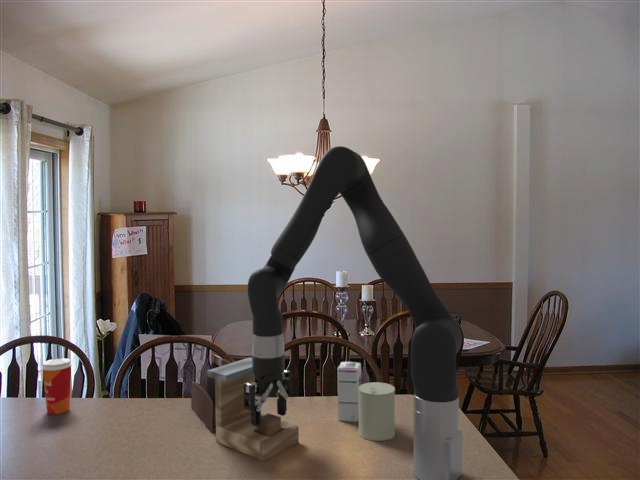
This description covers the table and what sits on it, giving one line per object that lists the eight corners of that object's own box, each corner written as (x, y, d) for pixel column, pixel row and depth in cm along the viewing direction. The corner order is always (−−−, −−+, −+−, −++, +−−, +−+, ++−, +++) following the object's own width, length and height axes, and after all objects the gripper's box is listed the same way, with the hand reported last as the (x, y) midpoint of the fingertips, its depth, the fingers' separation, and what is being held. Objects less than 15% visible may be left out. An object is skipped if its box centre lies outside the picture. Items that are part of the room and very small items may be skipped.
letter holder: (224, 401, 157) (224, 354, 156) (249, 426, 139) (248, 373, 138) (190, 408, 152) (189, 359, 151) (211, 434, 135) (210, 379, 134)
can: (352, 436, 133) (352, 388, 132) (366, 423, 141) (366, 378, 140) (387, 444, 128) (387, 394, 127) (400, 429, 136) (400, 383, 136)
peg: (280, 446, 127) (280, 417, 127) (269, 452, 124) (269, 422, 124) (268, 441, 130) (268, 413, 129) (256, 447, 127) (256, 418, 126)
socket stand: (301, 440, 130) (300, 369, 129) (260, 462, 119) (259, 385, 118) (250, 422, 141) (249, 357, 140) (208, 441, 130) (207, 370, 129)
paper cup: (43, 408, 152) (41, 359, 151) (73, 404, 155) (71, 356, 154) (42, 418, 145) (40, 367, 144) (73, 413, 148) (71, 363, 147)
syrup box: (359, 422, 141) (359, 368, 140) (337, 420, 142) (337, 367, 141) (362, 414, 147) (362, 362, 146) (340, 412, 148) (340, 360, 147)
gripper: (258, 362, 118) (259, 434, 119) (300, 348, 129) (301, 414, 130) (234, 356, 122) (236, 426, 123) (277, 343, 134) (278, 407, 134)
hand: (269, 420), depth 127 cm, fingers open, 8 cm apart
